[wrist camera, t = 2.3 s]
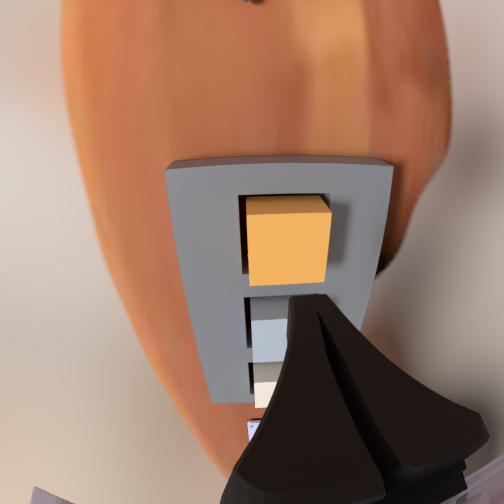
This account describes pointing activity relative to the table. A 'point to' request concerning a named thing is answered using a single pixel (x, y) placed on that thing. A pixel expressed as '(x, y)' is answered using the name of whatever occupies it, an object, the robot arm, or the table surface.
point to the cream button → (265, 381)
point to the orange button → (287, 239)
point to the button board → (237, 267)
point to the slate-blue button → (269, 327)
